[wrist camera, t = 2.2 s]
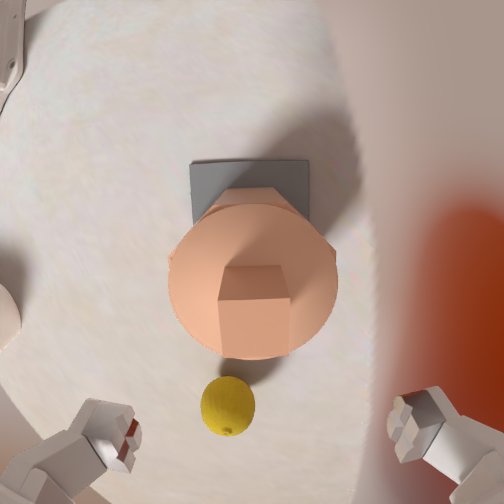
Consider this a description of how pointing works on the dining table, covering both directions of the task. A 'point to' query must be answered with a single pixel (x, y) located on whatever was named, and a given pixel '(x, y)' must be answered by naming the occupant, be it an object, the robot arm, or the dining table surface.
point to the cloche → (252, 276)
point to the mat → (249, 181)
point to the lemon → (227, 406)
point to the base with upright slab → (8, 318)
